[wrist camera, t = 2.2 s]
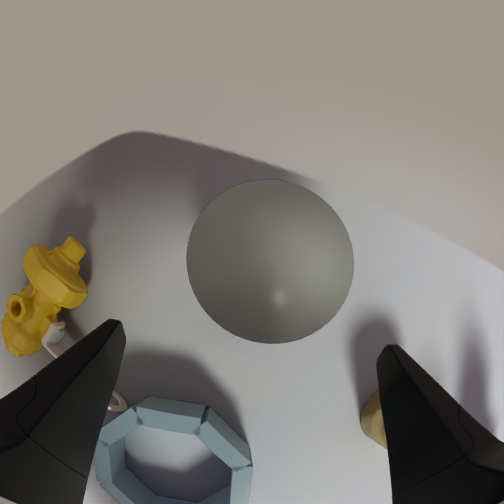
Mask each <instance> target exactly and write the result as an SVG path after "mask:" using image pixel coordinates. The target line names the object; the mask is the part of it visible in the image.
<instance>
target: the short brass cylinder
mask: <svg viewBox="0 0 504 504" xmlns="http://www.w3.org/2000/svg"><path fill="white" fill-rule="evenodd" d="M360 425H361V429H362V431H363V432H364V434H365V435H367V436H368V437H369V438H371V439H372V440H374V441H375V442H376V443H378V444H379V445H381V446H382V447H384V448H385V449H387V442H386V435H385V429H384V423H383V417H382V411H381V405H380V398H379V390H378V391H377V392H375V393H374V394H373V395H372V396H371V397H370V398H369V399H368V401H367V402H366V404H365V405H364V407H363V409H362V412H361V417H360Z"/></svg>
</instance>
